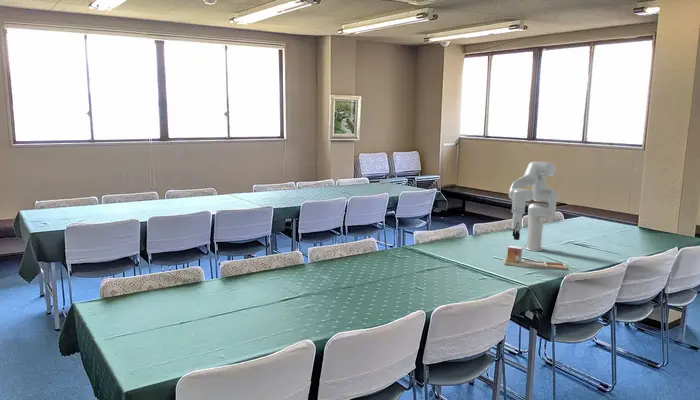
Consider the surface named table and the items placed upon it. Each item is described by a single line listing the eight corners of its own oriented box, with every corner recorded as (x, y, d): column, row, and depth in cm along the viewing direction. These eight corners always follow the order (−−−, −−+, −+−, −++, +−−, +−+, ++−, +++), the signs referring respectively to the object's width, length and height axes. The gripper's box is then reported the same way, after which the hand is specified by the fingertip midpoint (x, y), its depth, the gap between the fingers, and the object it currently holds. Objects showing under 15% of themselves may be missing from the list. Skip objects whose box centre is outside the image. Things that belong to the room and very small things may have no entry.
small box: (506, 263, 324) (507, 247, 322) (508, 261, 329) (509, 245, 327) (519, 265, 320) (521, 248, 318) (521, 263, 325) (522, 246, 323)
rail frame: (503, 260, 330) (503, 258, 330) (564, 265, 323) (564, 263, 323) (504, 264, 321) (504, 262, 321) (567, 270, 313) (567, 267, 313)
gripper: (510, 207, 328) (508, 234, 330) (512, 212, 311) (510, 240, 314) (523, 208, 326) (520, 235, 329) (526, 213, 310) (523, 241, 312)
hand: (515, 238), depth 321 cm, fingers open, 9 cm apart
